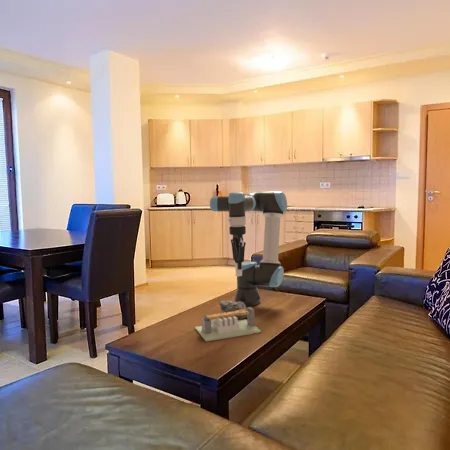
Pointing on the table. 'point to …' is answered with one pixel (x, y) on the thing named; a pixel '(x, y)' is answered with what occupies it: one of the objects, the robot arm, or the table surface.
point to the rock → (233, 307)
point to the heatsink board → (231, 334)
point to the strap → (226, 314)
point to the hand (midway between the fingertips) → (238, 275)
